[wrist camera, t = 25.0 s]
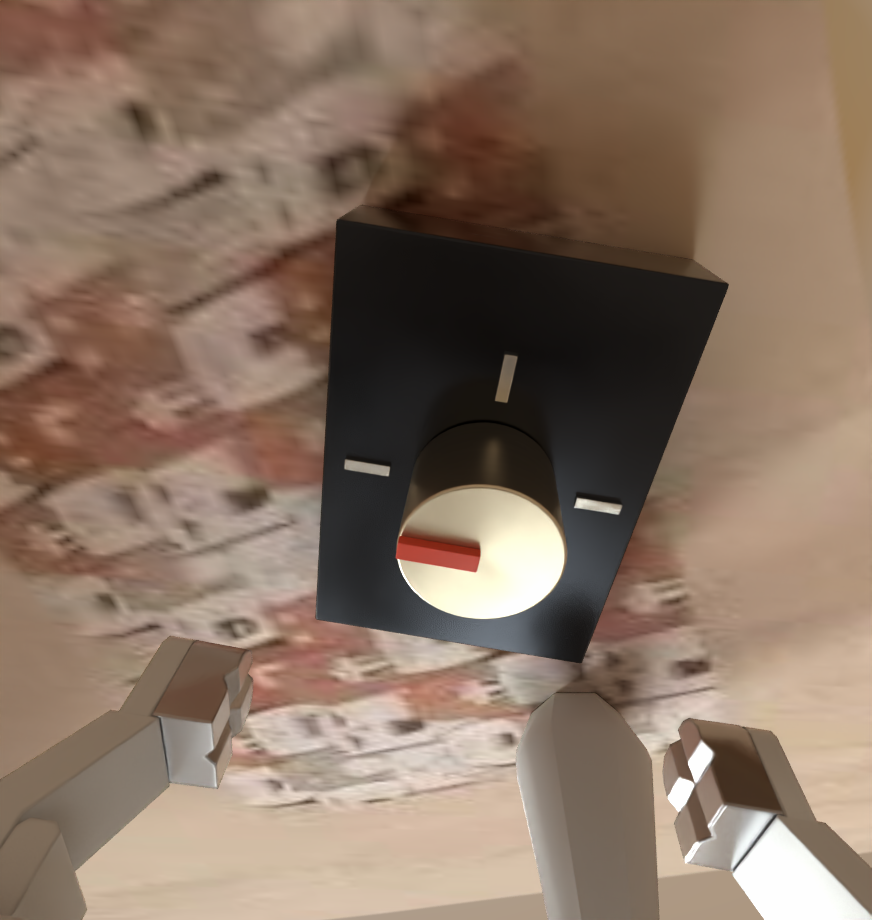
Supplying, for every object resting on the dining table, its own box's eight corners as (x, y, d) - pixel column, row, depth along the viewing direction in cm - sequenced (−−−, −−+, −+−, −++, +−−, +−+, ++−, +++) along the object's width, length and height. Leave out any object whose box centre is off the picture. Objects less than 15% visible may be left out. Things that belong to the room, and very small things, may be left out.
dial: (571, 435, 17) (590, 510, 14) (536, 552, 19) (545, 640, 16) (422, 409, 17) (405, 477, 14) (403, 529, 19) (385, 613, 16)
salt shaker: (655, 688, 26) (775, 1110, 15) (621, 765, 29) (700, 1168, 18) (524, 669, 26) (548, 1075, 15) (504, 748, 29) (510, 1137, 18)
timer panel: (572, 606, 24) (582, 667, 22) (333, 567, 24) (313, 623, 22) (695, 259, 17) (733, 285, 15) (359, 204, 17) (334, 219, 15)
